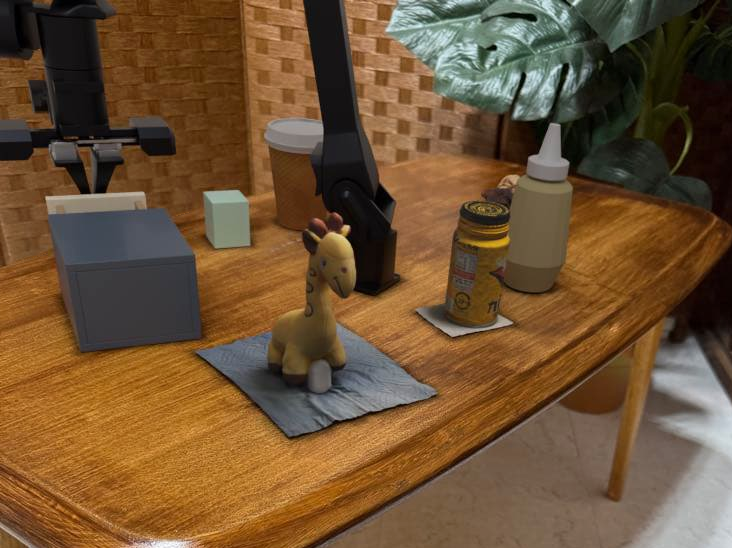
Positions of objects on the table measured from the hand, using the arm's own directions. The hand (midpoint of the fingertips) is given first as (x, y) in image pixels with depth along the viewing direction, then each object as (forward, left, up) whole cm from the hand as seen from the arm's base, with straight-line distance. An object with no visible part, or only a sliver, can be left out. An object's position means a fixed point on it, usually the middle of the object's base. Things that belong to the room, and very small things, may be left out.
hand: (95, 218), depth 97 cm
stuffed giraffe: (-36, +10, -4) cm, 38 cm away
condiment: (-42, -11, -4) cm, 44 cm away
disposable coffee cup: (-11, -25, -4) cm, 28 cm away
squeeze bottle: (-44, -25, -4) cm, 51 cm away
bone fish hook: (-32, -50, -4) cm, 60 cm away
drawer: (-5, +4, -3) cm, 7 cm away
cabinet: (-14, +11, -4) cm, 18 cm away
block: (-8, -13, -4) cm, 16 cm away
